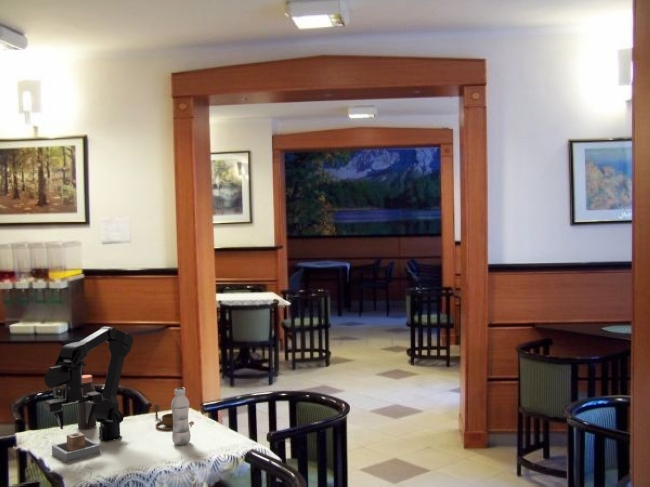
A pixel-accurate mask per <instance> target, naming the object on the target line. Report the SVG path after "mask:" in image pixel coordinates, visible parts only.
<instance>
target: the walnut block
mask: <svg viewBox="0 0 650 487" xmlns="http://www.w3.org/2000/svg"><path fill="white" fill-rule="evenodd" d="M85 437H86V436H85V434H83V433H81V431H77V432H74V433H68V434H67V435H66V442H67V452H71V451H75V450H79V449H83V448H85Z"/></svg>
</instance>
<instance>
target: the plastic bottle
mask: <svg viewBox="0 0 650 487" xmlns="http://www.w3.org/2000/svg"><path fill="white" fill-rule="evenodd" d="M174 395H175V396H174V397H173V398H172V401H171V404H170V407H171V412H172V414H173V431H172V434H171V439H172V443H173V444H174V445H176V446H183V445H187V444H189V443H190V441H191V436H192V435H191V430H190V424H189V409H190V401H189V400H190V399H188V398H187V396H186V388H185V387H176V388H174Z"/></svg>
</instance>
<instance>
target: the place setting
mask: <svg viewBox="0 0 650 487" xmlns="http://www.w3.org/2000/svg"><path fill="white" fill-rule="evenodd" d="M152 406H153V407H152V408H153V412H154V413H155V419H158V417H159V415H158V412H159V411H160V404H158V403H156V404H153V405H152ZM188 424H189V428H192V426H193V425H194V424H195V422H194V421H193V420H191V421H190V422H188ZM161 425H163V426H164V427H160V426H161ZM155 429H156V430H158V431H163V432H173V414H172V413H165V414H163V415H162V416H161V421H159V422H157V423H155Z"/></svg>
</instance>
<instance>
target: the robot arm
mask: <svg viewBox="0 0 650 487" xmlns="http://www.w3.org/2000/svg"><path fill="white" fill-rule="evenodd" d="M105 342H107V343H108V350H109V353H110V358H109V363H108V368H107V373H106V377H105V381H104V385H103V386H104V387H103V391H102V393H101V392H98V391H95V392H90V393H86V395H85V396H83V394H82V388H83V387H84V384H82V375H83V371H82V369H83V367H86V366H87V364H86V363H85V362H84V361H83V360H84V359H85V358H87V356H89V353H90V352H91V351H93V349H95V348H97V347H99V346H100V345H102V344H103V343H105ZM133 344H134V338H133V337H132V334H130V333H127V332H123V331H121V330H118V329H116V328H115V327H113V326H103V327H100V329H99V330H97V331H95V332H93V333H92V334H90V335H88V336H87V337H85V338H84V339H81V340H80V341H75V342H70V343H67V344H65V345H63V346H62V347H61V350H60V352H59V354H58V356H57V358H56V361H55V362H54V365H53V366H51V367H48V371H47V372H46V373H45V376H44V377H43V380H44V384H45V386H46V387H47V388H48V389H52V395H53V398H55V399H49V400H46V401H45V402H44V403H43V410H45V411H47V412H49V413H51V414H53V415H54V417H55V418H56V421H57V424H58V426H59V429H60V430H64V410H62V408H63V407H66V406H67V407H68V406H72V405H77V403H82V402H85V404H86V423H89V421H90V419H91V417H92V414H94V415H95V418H96V423H99V425H100V426H99V427H98V428H99V429H98V434H99V435H98V439H99V440H101V441H103V442H106V443H107V442H111V441H115V440H119V439H122V438H123V436H122V435H121V426H120V425H121V424H122V422H124V417H125V415H124V413H122V412H121V411H120V409H119V408H120V406H119V405H120V404H119V403H120V402H119V400H118V397H117V396H118V395H117V394H118V390H119V384H120V381H121V375H122V371H123V366H124V361H125V358H126V357H127V355H128V354H129V353H130V352H131V349H132V346H133ZM61 386H62V388H61ZM56 398H58V399H59V400H58V399H56ZM77 400H79V401H77Z"/></svg>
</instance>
